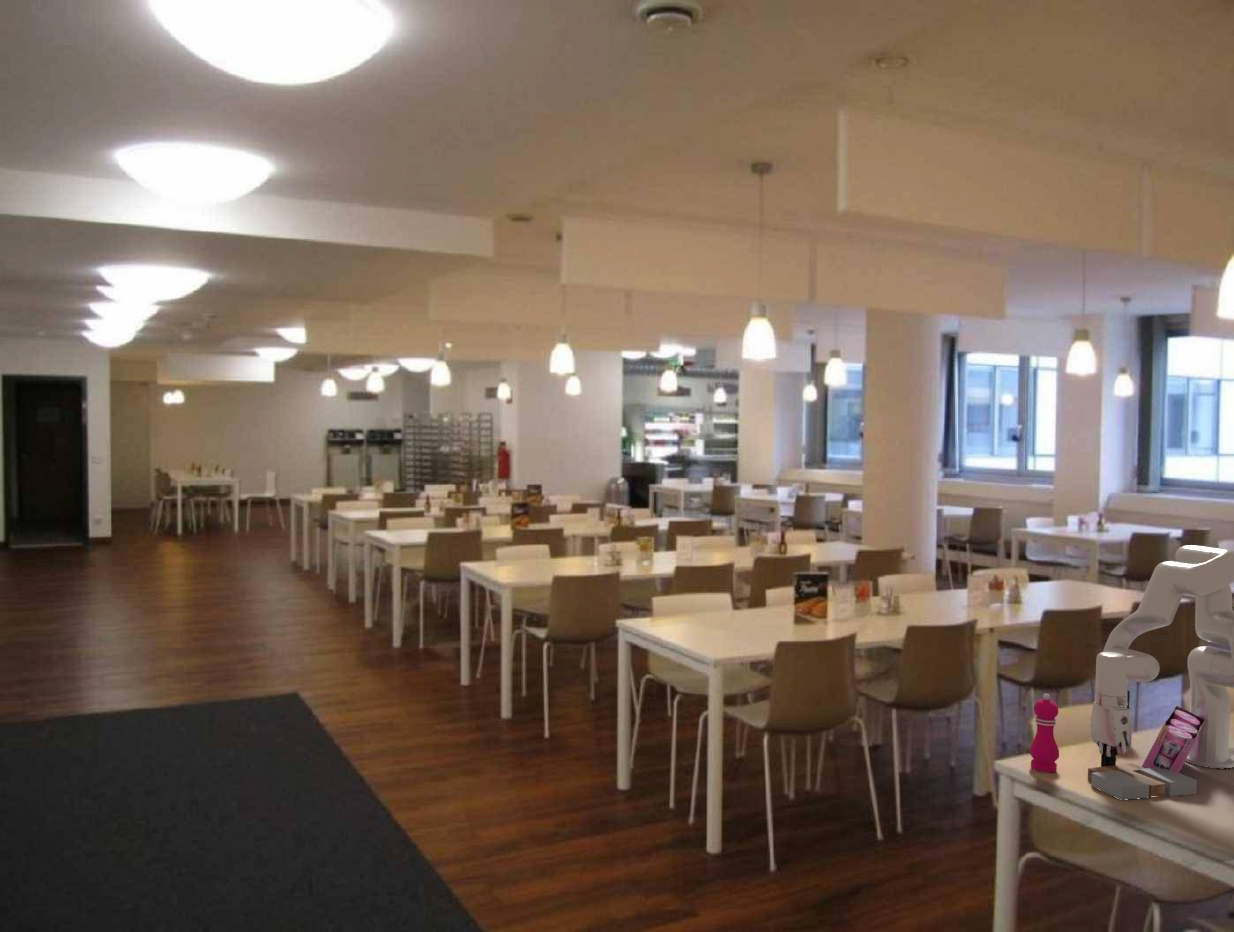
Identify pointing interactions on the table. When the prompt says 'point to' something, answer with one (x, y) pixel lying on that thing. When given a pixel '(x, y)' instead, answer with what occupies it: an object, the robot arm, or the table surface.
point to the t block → (1133, 770)
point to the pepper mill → (1044, 736)
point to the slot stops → (1142, 783)
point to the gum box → (1174, 740)
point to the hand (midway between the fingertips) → (1108, 770)
